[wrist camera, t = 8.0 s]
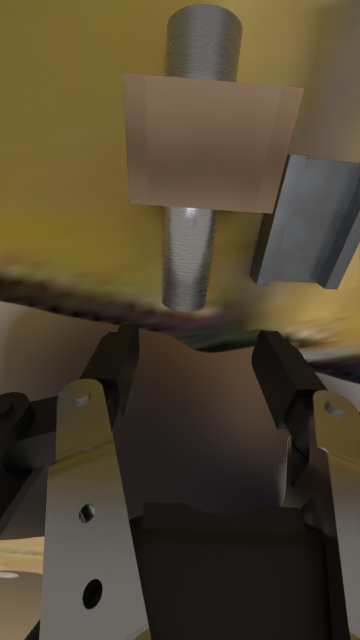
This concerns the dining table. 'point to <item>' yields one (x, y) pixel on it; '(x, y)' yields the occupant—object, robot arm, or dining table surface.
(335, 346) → the dining table surface
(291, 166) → the v block
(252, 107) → the brown block
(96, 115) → the dining table surface
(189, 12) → the axle
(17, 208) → the dining table surface
